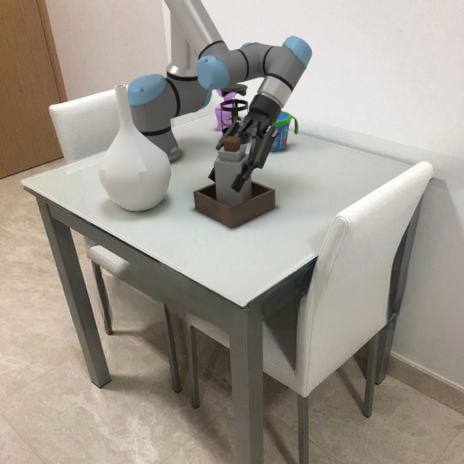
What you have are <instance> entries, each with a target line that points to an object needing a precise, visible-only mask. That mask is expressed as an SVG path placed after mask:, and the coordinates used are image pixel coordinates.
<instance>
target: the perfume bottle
mask: <svg viewBox="0 0 464 464" xmlns="http://www.w3.org/2000/svg"><path fill="white" fill-rule="evenodd" d="M240 143H241V138H240V137H230V136H228V137H227V138H226V139H225V140H224V141H223V145H224V146H223V147H221V149H220V150H219V151H217V154H218V155H219V157H218V155H217V157H218V158H217V157H216V159H215V160H214V161H213V165H215V180H216V195H217V201H219V202H221V203H223V204H225V205H227V206H230V207H235V206H237V205H239V204H241V203H243V202H245V201H248V200H250V199H252V195H251V180H252V174H251V175H250V177H249V179H248V180H246V181H245V183H244V185H243V186H242V188H241V190H240V192H239V193H237V192H236V191H234V190H233V189H232V188H231V185H232V184H233V182H234V180H235V178H236V176H237V175H238V174H240V173H241V171H242V167H243V164H244V163H245V164H247V163H246V162H247V161H248V157H249V153H246V151H247V147H248V145H244V144H241V145H240ZM247 165H248V164H247Z"/></svg>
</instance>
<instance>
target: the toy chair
mask: <svg viewBox="0 0 464 464" xmlns="http://www.w3.org/2000/svg"><path fill="white" fill-rule="evenodd" d="M215 91H216V93H217V95H218V96H219V97H221V98H222V99H223V102H224V101H227V100H232V99H233V92H232V93H229V94H228V95H226V96H225V97H222V96H221V91H220V89H216V90H215ZM237 94H238V93H235V92H234V96H235V97H236V95H237ZM221 103H222V102H219V104H218V105H217V106H216V107H215V108H214V114H215V117H216V120H217V126H216V128H215V130H216V131H222V123H223V122H221V106H220V104H221ZM224 107H231V108H232V104H228V105H225V106H224ZM230 117H231V112H227V111H223V110H222V121H223V120H224V119H226V118H230ZM226 127H229V126H225V125H223V129H224V128H226Z"/></svg>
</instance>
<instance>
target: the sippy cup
mask: <svg viewBox="0 0 464 464" xmlns="http://www.w3.org/2000/svg"><path fill="white" fill-rule="evenodd" d="M292 119H293V120H294V130H293V133H294V135H296V136H297V135H298V134H299V122H298V120H297V119H298V118H296V117H295V116H294V115H292V114H291V113H289V112H287V111H284V110H282V112H281V114H280V116H279V117H278V119H277V121H276V122H275V123H274V124H272V126H274V127H275V128H276V129H277V130H278V131H279V135H278V136H277V137H276V139H275V140H274V142H273V145H272V147H271V150H270V152H279V151H282V150H284V149H286V146H287V144H288V136H289V132H290V131H289V130H290V124H291V122H292ZM265 135H266V134H265ZM265 135H264V137H265ZM250 141H252V137H250Z"/></svg>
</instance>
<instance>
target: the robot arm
mask: <svg viewBox="0 0 464 464" xmlns="http://www.w3.org/2000/svg"><path fill="white" fill-rule="evenodd" d="M163 1H164V3H165V5H166V6H167V8H168V9H169V19H170V20H169V21H170V22H169V23H170V62H169V63H168V64H167V65H166V67H165V68H166V77H165V76H164V75H163V74H160V73H152V74H151V73H150V74H146V75H142V76H139V77H137V78H134V79H133V80H131V81H130V82H129V83H128V86H127V87H126V89H127V94H128V99H129V104H130V109H131V115H132V121H133V123H134V125H135V127H136V128H137V130H138V131H139V132H140V133H141V134H142V135H144V136H145V137H146V138H147V139H148V140H149V141H150V142H152V143H153V144H154V145H156V146H157V147H158V148H160V149H161V150H162V151H164V152H165V153H166V154H167V157H168V159H169V162H170V163H173V162H175V161H177V160H178V159H179V158H180V157H181V148H180V146H179V144H178V140H177V139H176V137H175V135H174V132H173V130H172V121H171V120H172V119H176V118H179V117H182V116H186V115H189V114H192V113H197V112H199V111H201V110H203V109H205V108H206V107H207V106H209V104H210V102H211V100H212V95H213V91H216V89H223V88H225V87H227V86H230V85H234V84H242V83H245V82H249V81H252V80H256V79H261V78H263V80H262V81H261V83H260V85H259V86H258V88H257V90H256V94H255V95H254V96H253V97H252V99H251V101H250V103H249V104H248V111H247V114H245V116H244V117H243V116H239V114H238V115H236V116H235V117H234V120H233V123H232V124H231V126H230V127H229V129H228V130H227V131H226V133H225V134H224V136H223V137H222V136H221V139H220V140H219V141H218V143H217V144H216V146H215V150H216V151H217V152H218V151H219V150H220V149H221V148H222V147H223V146H224V145H223V141H224V140H225V139H226V138H227V137H228V136H230V137H240V138H241V143H242V142H243V141H244V140H247V139H248V138H249V137H250V138H251V137H252V140H251V143H250V146H249V147H250V148H249V152H248V154H249V157H248V161H247V162H246V163H247V164H248V165H247V164H245V163H244V164H243V167H242V171H241V173H240V174H238V175H237V176H236V178H235V180H234V182H233V184H232V185H231V188H232V189H233V190H234V191H236V192H237V193H239V192H240V190H241V188H242V186H243V185H244V183H245V181H246V180H248V179H249V177H250V175H251V176H252V174H253V172H254V170H256V169H260V170H262V169H263V168H264V166H265V164H266V162H267V159H268V157H269V154H270V152H271V151H270V150H271V147H272V145H273V142H274V140H275V139H276V137H277V136H278V135H279V131H278V130H277V129H276V128H275V127H274V126H272V124H274V123H275V122H276V121H277V119H278V117H279V116H280V114H281V112H282V111H283V109H284V108H285V106H286V105H287V103H288V100H290V98H291V95H292V94H293V92H294V90H295V88H296V86H297V85H298V83H299V82H300V80H301V78H302V76H303V74H304V73H305V71H306V70H307V68H308V65H309V63H310V61H311V59H312V56H313V50H312V47H311V46H310V44H309V43H308V42H307V41H306V40H304V39H303V38H301V37H299V36H296V35H289V36H288V37H286V39H284V41H283V42H282V45H281V46H280V45H272V44H265V43H262V42H257V41H254V42H246V43H243V44H242V45H241V46H240V47H239V48H238V49H237V48H236V49H231V50H230V49H229V47H228V45H227V43H226V42H225V41H224V39H223V37H222V35H221V34H220V32H219V30H218V28H217V27H216V25H215V22H214V21H213V19H212V17H211V16H210V14H209V13H208V10H207V9H206V7H205V5H204V3H203V2H202V0H163ZM243 131H244V133H245V134H244V133H243ZM265 134H266V135H265ZM264 135H265V137H264ZM241 143H240V144H241ZM241 145H242V144H241ZM218 157H219V155H217V157H216V159H217V158H218ZM207 179H208V180H210V181H212V182H213V183H216V180H215V165H214V164H213V168H212V169H211V171H210V173H209V174H208V177H207Z"/></svg>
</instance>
